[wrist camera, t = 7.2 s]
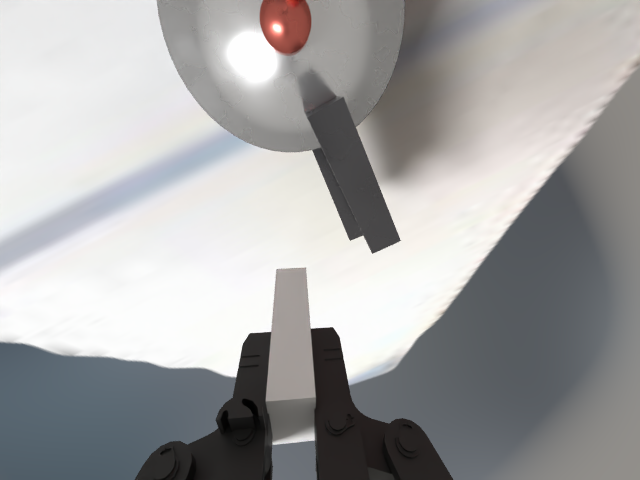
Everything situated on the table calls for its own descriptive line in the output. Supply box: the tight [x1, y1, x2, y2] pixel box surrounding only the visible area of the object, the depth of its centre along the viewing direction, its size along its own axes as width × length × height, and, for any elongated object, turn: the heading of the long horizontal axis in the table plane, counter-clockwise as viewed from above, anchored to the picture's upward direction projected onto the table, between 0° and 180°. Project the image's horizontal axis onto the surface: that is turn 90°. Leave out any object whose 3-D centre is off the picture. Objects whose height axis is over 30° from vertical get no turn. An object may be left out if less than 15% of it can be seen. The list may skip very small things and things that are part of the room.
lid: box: [157, 0, 405, 254], centre depth 18 cm, size 25×16×4 cm, turn 27°
